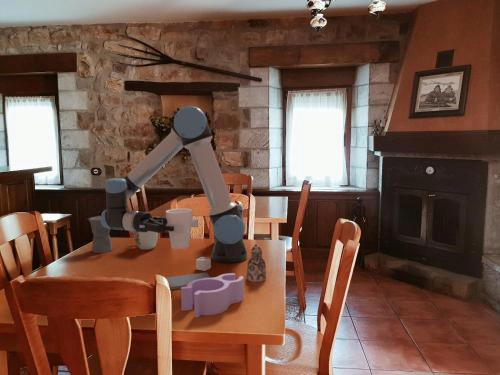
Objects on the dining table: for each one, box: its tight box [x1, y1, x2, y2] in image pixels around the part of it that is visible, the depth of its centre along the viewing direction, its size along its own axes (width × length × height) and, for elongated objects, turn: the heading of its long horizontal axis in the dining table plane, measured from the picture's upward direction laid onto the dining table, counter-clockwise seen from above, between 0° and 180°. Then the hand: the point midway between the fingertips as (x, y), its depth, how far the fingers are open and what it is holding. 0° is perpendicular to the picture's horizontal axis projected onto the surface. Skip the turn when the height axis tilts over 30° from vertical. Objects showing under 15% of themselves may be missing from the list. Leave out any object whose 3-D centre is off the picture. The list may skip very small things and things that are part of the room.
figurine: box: [246, 244, 267, 283], centre depth 146 cm, size 7×7×12 cm
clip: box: [180, 272, 245, 318], centre depth 124 cm, size 20×12×7 cm, turn 134°
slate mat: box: [165, 272, 212, 291], centre depth 143 cm, size 16×10×1 cm, turn 111°
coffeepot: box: [87, 211, 118, 254], centre depth 183 cm, size 15×9×18 cm, turn 78°
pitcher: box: [133, 231, 159, 250], centre depth 189 cm, size 11×18×14 cm, turn 33°
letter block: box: [195, 256, 212, 272], centre depth 158 cm, size 4×4×4 cm
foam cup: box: [165, 208, 194, 250], centre depth 144 cm, size 10×9×13 cm
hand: (190, 226), depth 142 cm, fingers closed on foam cup, 9 cm apart
